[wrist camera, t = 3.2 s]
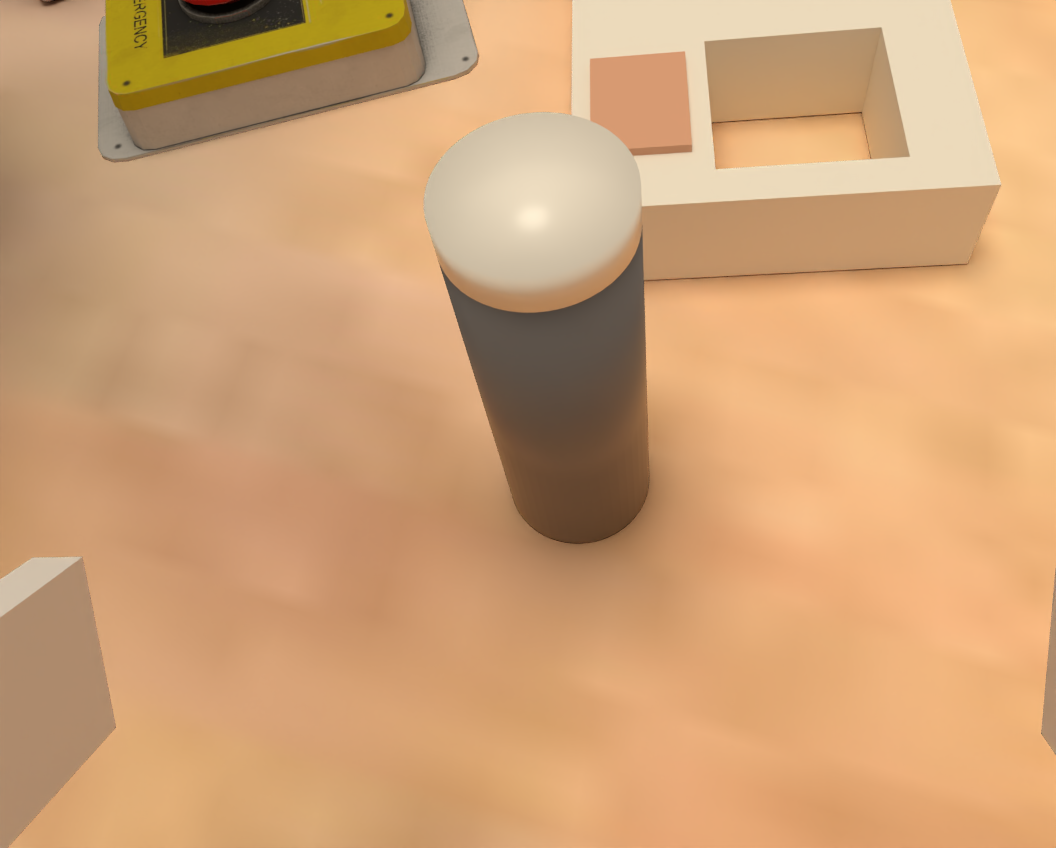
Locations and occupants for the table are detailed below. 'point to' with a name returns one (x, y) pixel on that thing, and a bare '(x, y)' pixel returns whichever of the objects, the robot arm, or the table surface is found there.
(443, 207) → the capped grey bottle
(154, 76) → the emergency button
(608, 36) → the socket block
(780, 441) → the table surface
